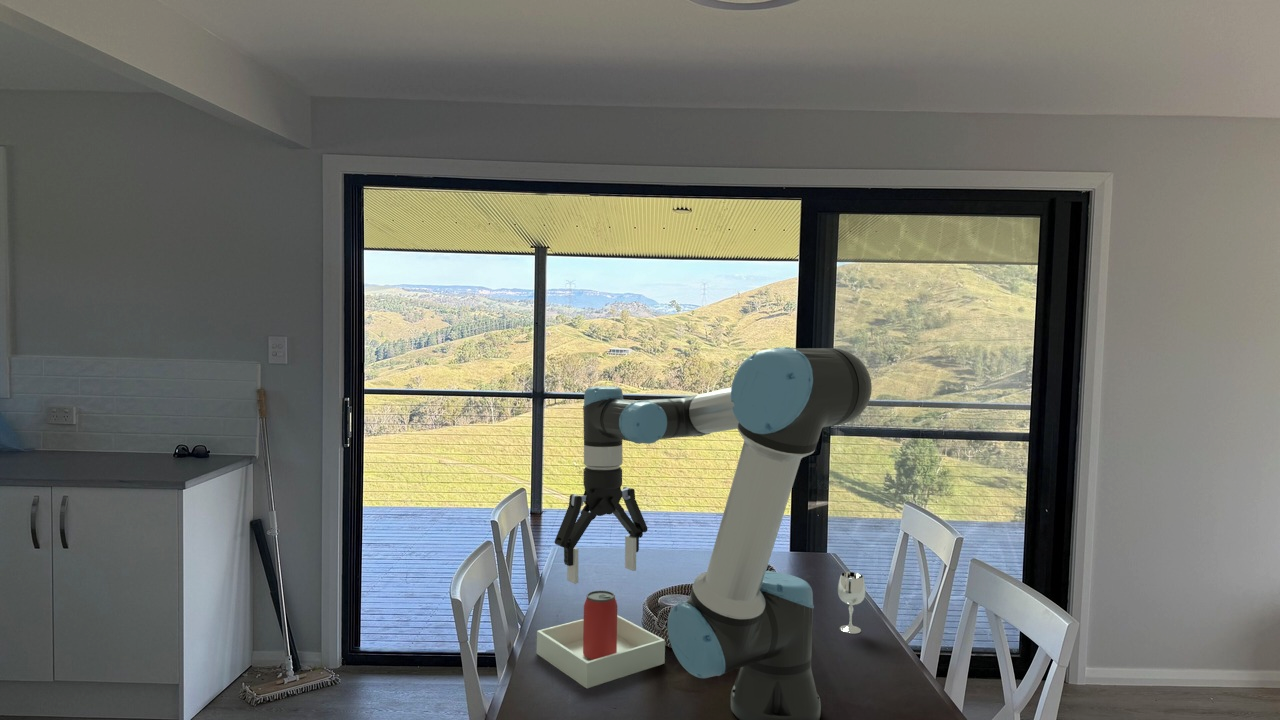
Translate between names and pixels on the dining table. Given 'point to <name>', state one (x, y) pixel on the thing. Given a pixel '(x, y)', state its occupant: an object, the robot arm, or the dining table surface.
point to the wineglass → (851, 595)
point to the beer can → (600, 625)
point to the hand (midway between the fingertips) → (602, 575)
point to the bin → (631, 657)
